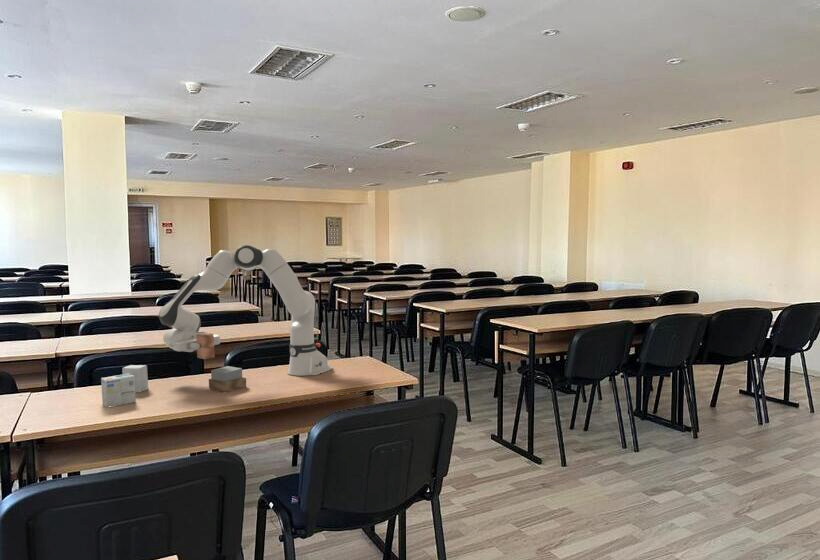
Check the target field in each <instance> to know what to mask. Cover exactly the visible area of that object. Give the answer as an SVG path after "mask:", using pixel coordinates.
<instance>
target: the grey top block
mask: <svg viewBox="0 0 820 560" xmlns="http://www.w3.org/2000/svg"><path fill="white" fill-rule="evenodd" d="M210 373H211V374H210V379H212V380H217V381H222V382H228V381H232V380H235V379H239V378H242V377H243V368H242V367H235V366H229V365H227V366H223V367H219V368H215V369H211V371H210Z"/></svg>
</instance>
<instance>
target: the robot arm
mask: <svg viewBox="0 0 820 560" xmlns="http://www.w3.org/2000/svg"><path fill="white" fill-rule="evenodd" d="M257 268H260V269H261V270H262V271H263V272H264V273H265V275H266V276H267V277H268V279H269V281H270V282H271V284H273V286H274V287H275V289H276V290H277V292H278V295H280V298H281V300H282V301H283V304H284V306H285V308H286V309H287V311H288V313H289V314H290V315H291V321H290V326H289V329H290V330H289V334H290V337H289V338H290V343H289V354H290V355H289V356H290V357H289V365H288V370H287V374H288V375H291V376H303V377H305V376H317V375H320V373H321V374H323V373H326V372H329V371H331V370H333V369H334V368H333V366H332V365H329V364H328V363H329V362H328V358H327V356H326V355H324V354H323V353H322V352H321V351H319V350H318V349H317V348H320V347H321V343H320V342H316V343H315V339H314V338H315V336H314V335H315V332H314V331H315V330H314V327H315V326H314V324H315V316H316V315H315V313H316V298H315V296H314V294H312V293H311V292H310V291H308V290H304V289H303V287H302V285H301V283H300V281H299V279H298V276H297V275H296V274H295V272H294V271H293V269H292V268H291V266H290V265H289V263H288V262H287V261H286V259H284V257H283V256H282V255H281V254H280V253H279V252H278V251H277V250H276V249H274V248H266V249H264V250H260V249H259V248H256V247H254V246H252V245H246V244H245V245H241V246H239V247H238V248H237V249H236V250H235V252H231V251H229V250H224V249H220V250H219V251H218V252H217V253H216V254H214V256H213V257H212V258H211V260H210V261H209V262H208V264H207V265H206V267H205V268H204V269H203V270H202V271H201V272H200V273H198V274H193V275H192V276H191V277H190V278H189V279H188V280H187V281H186V282H185V283H184V284H183V285H182V286H181V287H180V288H179V290H178V291H177V292H176V293H175V294H174V295H173V296H172V297H171V299H170V300H169V301H167V302H166V303H165V304H164V305H163V306H162V307H161V308H160V310H159V312H158V318H159V321H160V323H161V324H162V325H164V326H166V327H170V328H171V329H169V330H167V331H165V332H164V334H163V337H162V339H163V343H164V344H165V345H166V346H167V347H168V348H170V349H172V350H173V351H175V352H187V353H193V352H195V351H197V348H201V344H200V343H198V344H197V337H196V335H197V334H203V333H208V332H207V331H200V329H201V325H202V323H201V317H200V316H199V314H196V313H194V312H192V311H190V310H188V309H186V308H184V307H182V305H184V303H185V302H186V301H187V300H188V299H189V297H190V296H191V295H193V293H195V292H197V291H211V292H212V291H218V290H220V289H222V288H223V287H224V286H225V285H226V283H227V282H228V281H229V278H230V276H231V275H232V273H233V272H234V271H235V270H240V271H244V272H252V271H255V270H256V269H257ZM220 344H221V337H220V335H219V334H214V346H218V345H220Z"/></svg>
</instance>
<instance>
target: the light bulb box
mask: <svg viewBox="0 0 820 560" xmlns="http://www.w3.org/2000/svg"><path fill="white" fill-rule="evenodd" d="M100 383H101V385H100V386H101V398H102V399H101V401H102V405H103V404H104V405H105V406H106V408H107V407H108V408H110V407H109V406H113V407H118V406H117V405H119V406H122V404H124V405H127V404H128V403H129V404H133V403H132V402H134V403H136V402H137V400H136V392H135V378H134V375H131V374H129V373H128V374H123V373H122V374H119V375H118V374H117V375H112V376H107V377H106V376H105V377H101V378H100ZM104 405H103V406H104ZM105 406H104V407H105Z"/></svg>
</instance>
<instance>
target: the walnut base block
mask: <svg viewBox="0 0 820 560" xmlns="http://www.w3.org/2000/svg"><path fill="white" fill-rule="evenodd" d="M243 387H245V388H247V378H246V377H244V376H242V378H239V379H235V380H232V381H228V382H222V381H217V380H212V379H211V378H208V389H209V388H210V389H209V390H212V389H214V390H213V391H216V390H217V391H216V392H219V391H221V392H220V393H223V392H226V393H229V392H228V391H230V392H233V391H237V390H240V389H239V388H241V389H243ZM236 389H237V390H236ZM232 390H233V391H232Z"/></svg>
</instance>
